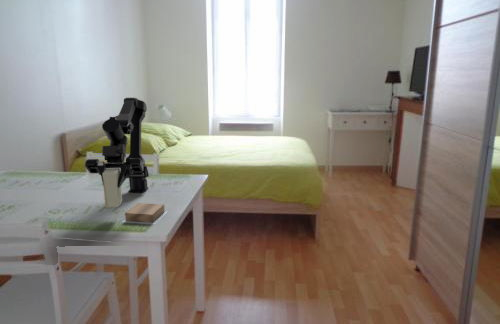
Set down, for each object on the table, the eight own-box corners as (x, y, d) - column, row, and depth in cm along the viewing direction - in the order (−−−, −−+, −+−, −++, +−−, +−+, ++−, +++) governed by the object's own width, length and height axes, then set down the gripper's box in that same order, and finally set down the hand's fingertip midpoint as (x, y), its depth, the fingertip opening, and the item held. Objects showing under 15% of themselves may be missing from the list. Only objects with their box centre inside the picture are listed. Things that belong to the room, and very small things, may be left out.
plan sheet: (121, 222, 126) (121, 222, 126) (137, 210, 137) (137, 209, 137) (154, 225, 124) (154, 224, 124) (168, 212, 135) (168, 211, 135)
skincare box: (110, 201, 130) (106, 168, 127) (123, 201, 131) (119, 167, 128) (105, 207, 124) (101, 173, 121) (118, 207, 124) (115, 172, 122)
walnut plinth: (125, 221, 127) (124, 212, 126) (138, 210, 136) (138, 203, 135) (153, 222, 125) (152, 214, 124) (164, 212, 134) (164, 204, 134)
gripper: (83, 136, 125) (74, 176, 117) (139, 135, 126) (134, 175, 118) (93, 153, 134) (86, 192, 126) (145, 152, 136) (141, 190, 128)
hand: (111, 187), depth 124 cm, fingers closed on skincare box, 4 cm apart
